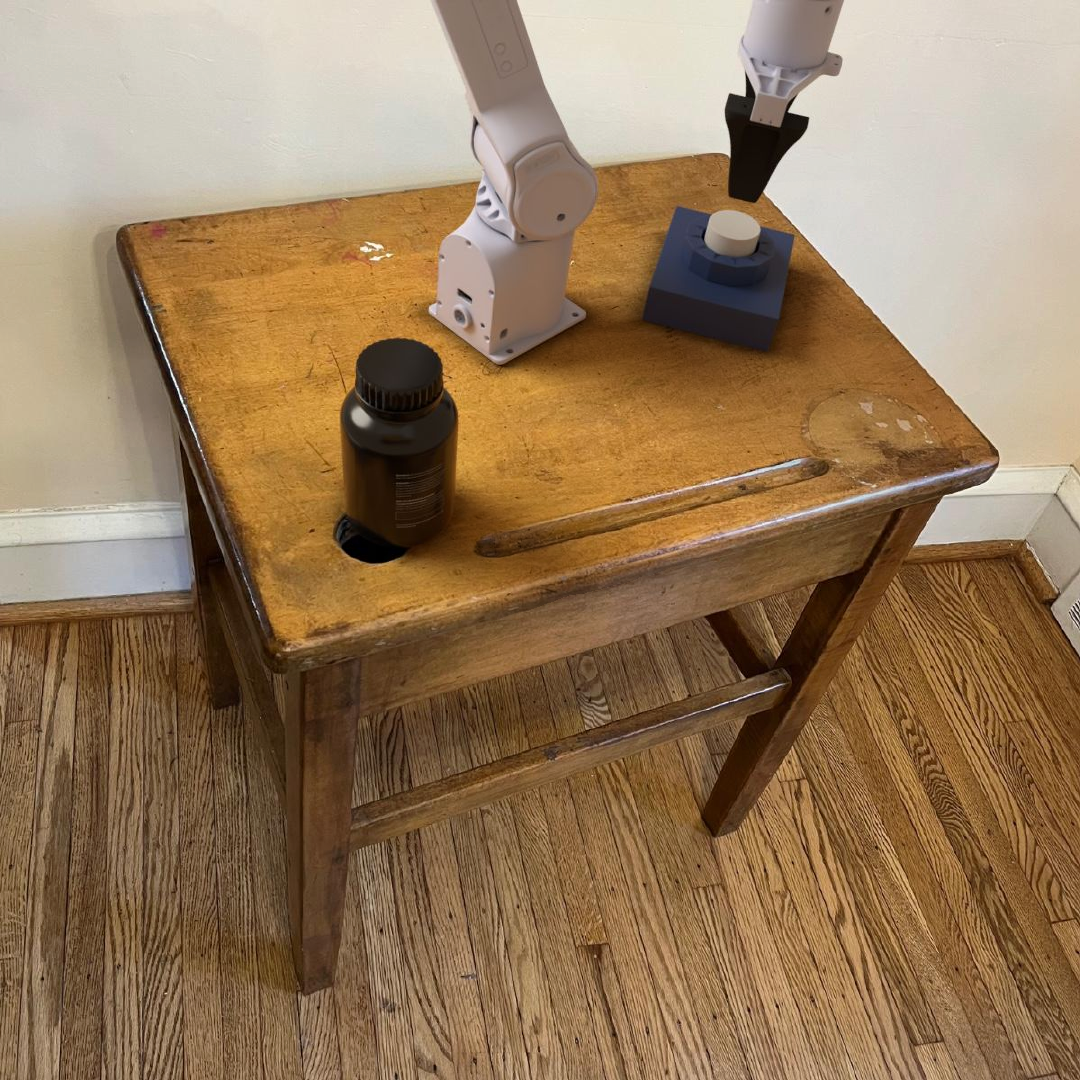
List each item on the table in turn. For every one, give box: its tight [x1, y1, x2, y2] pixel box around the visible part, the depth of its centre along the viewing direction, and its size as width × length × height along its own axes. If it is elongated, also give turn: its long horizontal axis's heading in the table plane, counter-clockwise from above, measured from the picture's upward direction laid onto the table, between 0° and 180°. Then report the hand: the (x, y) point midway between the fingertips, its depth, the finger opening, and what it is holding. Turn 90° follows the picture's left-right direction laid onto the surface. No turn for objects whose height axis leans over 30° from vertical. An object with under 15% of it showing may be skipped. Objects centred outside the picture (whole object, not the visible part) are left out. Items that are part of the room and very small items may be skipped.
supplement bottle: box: [339, 337, 460, 549], centre depth 63 cm, size 7×7×12 cm
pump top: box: [704, 209, 761, 258], centre depth 83 cm, size 4×4×2 cm
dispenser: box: [641, 205, 796, 353], centre depth 85 cm, size 12×10×5 cm
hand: (748, 171), depth 80 cm, fingers open, 7 cm apart
